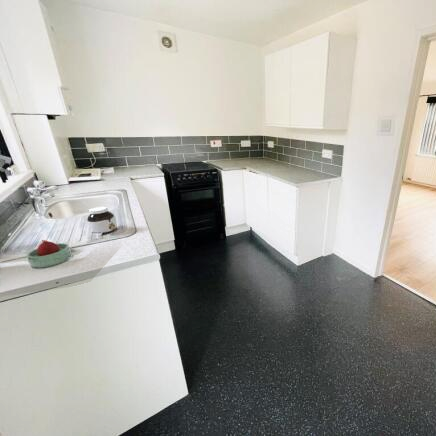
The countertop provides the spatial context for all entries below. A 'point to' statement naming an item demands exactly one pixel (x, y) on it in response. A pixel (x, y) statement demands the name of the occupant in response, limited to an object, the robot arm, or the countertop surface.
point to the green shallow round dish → (49, 257)
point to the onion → (47, 248)
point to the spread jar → (101, 220)
